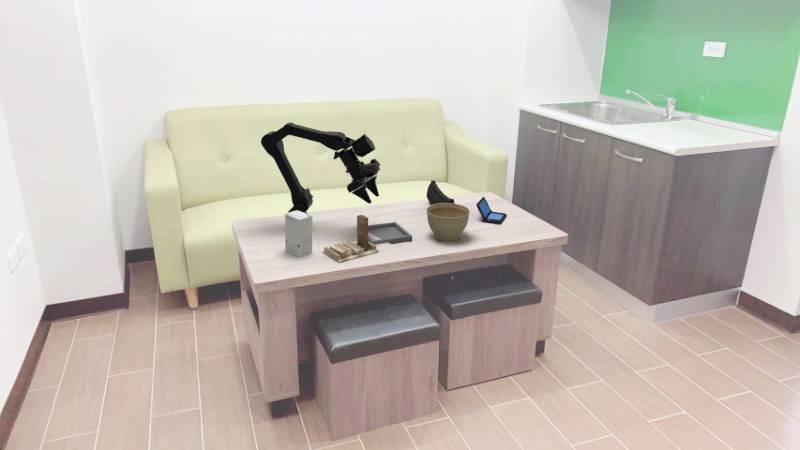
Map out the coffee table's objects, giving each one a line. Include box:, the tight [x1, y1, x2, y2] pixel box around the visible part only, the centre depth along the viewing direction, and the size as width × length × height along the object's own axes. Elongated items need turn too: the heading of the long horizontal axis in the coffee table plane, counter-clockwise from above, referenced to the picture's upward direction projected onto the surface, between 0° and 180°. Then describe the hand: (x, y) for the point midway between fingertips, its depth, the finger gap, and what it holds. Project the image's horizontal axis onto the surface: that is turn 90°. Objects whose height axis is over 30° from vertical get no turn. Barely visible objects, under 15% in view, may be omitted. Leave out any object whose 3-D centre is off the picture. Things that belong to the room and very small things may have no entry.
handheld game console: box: [476, 196, 508, 225], centre depth 241 cm, size 12×11×7 cm
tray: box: [368, 221, 413, 245], centre depth 221 cm, size 16×16×2 cm
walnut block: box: [356, 214, 369, 252], centre depth 205 cm, size 2×4×13 cm, turn 37°
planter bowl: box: [426, 203, 471, 242], centre depth 220 cm, size 16×16×11 cm
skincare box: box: [284, 210, 313, 258], centre depth 202 cm, size 8×6×15 cm
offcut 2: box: [341, 253, 352, 259], centre depth 202 cm, size 4×7×2 cm, turn 39°
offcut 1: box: [329, 242, 351, 256], centre depth 201 cm, size 4×7×2 cm, turn 42°
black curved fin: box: [426, 180, 456, 206], centre depth 244 cm, size 17×3×30 cm
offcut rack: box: [322, 240, 379, 264], centre depth 204 cm, size 16×11×3 cm
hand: (374, 199), depth 217 cm, fingers open, 9 cm apart
